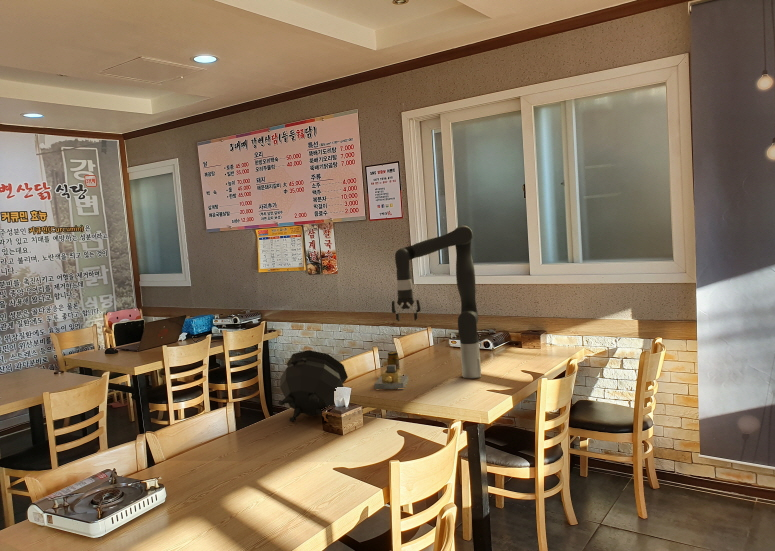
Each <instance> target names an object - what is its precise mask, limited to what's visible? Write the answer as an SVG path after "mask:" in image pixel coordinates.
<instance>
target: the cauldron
mask: <svg viewBox="0 0 775 551" xmlns="http://www.w3.org/2000/svg"><path fill="white" fill-rule="evenodd" d="M286 365H287V367H286V368H285V370H284V371H283V373H282V375H281V376H280V382H279V388H280V391H281V393H282V395H283V397H284V398H283V399H282V400H278V401H277V402H278V403H277V404H278V405H280V406H284V405H286V404H288V406H289V407H290V408H291V409H293V410H294V411H293V412H292V413H293V414H292V416H290V417H288V418H289V419H288V420H289V421H290V422H291V423H294V422H296V421H297V418H298V417H299V416H300V415H301V414H303V415H307V416H311V417H314V416H318V415H319V416H321V417H322V411H323V410H324V409H326V408H325V407H327V408H328V406H329V405H330V406H333V405H334V391H336V389H335V388H337V387H344V384H345V383H346V381H347V380H348V378H349V376H348V373H347V371H346V368H345V365H344V364H343V363H341V362H340V361H339V360H337V359H336V358H334V357H333V356H331V355H330V354H328V353H325V352H320V351H315V350H310V349H307V350H304V351H300V352H296V353H292V354H291V356H290V358H289V359H288V361H287V363H286ZM344 388H345V387H344ZM330 406H329V407H330ZM323 408H324V409H323ZM321 409H323V410H321Z"/></svg>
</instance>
